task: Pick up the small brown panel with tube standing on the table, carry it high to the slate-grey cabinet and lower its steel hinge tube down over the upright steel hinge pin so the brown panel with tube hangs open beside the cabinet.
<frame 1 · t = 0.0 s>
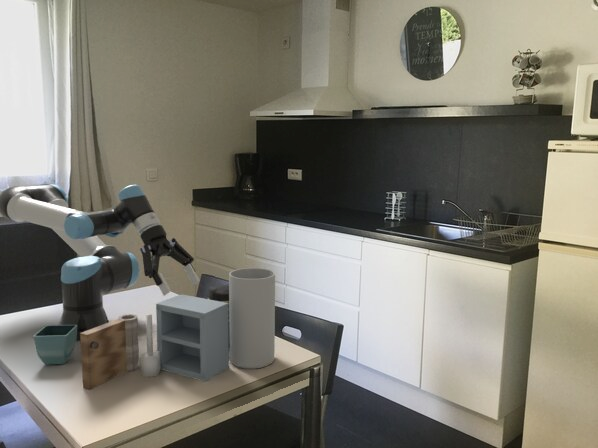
hand: (182, 288, 162), 15 cm above the table, tool tilted 35°, fingers open, 13 cm apart
brown panel with tube: (105, 379, 133), on the table
cylinder vase: (252, 361, 146), on the table
flower pot: (57, 361, 144), on the table
coffee jar: (224, 346, 157), on the table
cabinet: (193, 367, 141), on the table
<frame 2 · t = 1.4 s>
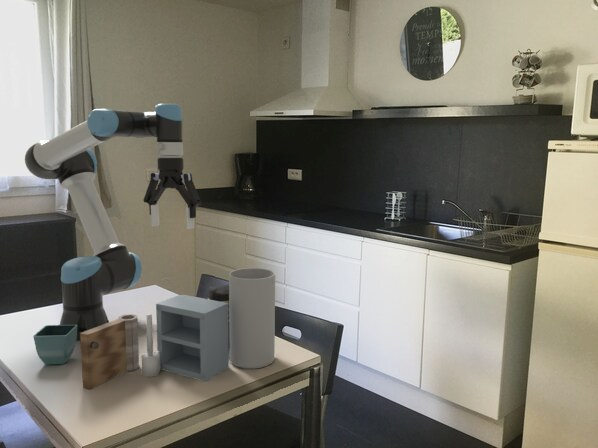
hand: (172, 227, 159), 34 cm above the table, tool pointing down, fingers open, 13 cm apart
nothing on the table moved.
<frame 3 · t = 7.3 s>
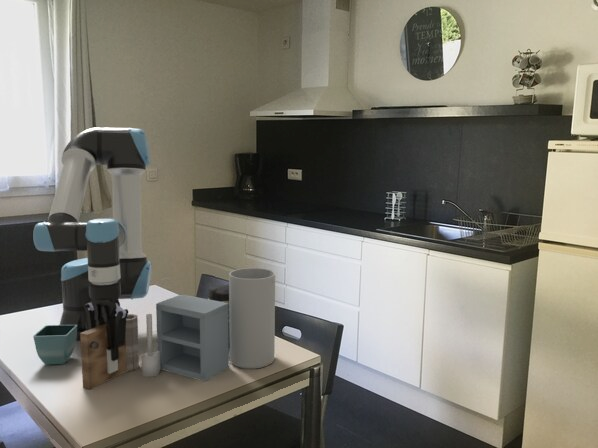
hand: (108, 370, 134), 2 cm above the table, tool pointing down, fingers closed on brown panel with tube, 2 cm apart
brown panel with tube: (105, 378, 133), on the table, touching gripper
everything else where it was.
when the fingers open (8 cm above the table, at t = 14.1 s): brown panel with tube drops 2 cm, resting on cabinet.
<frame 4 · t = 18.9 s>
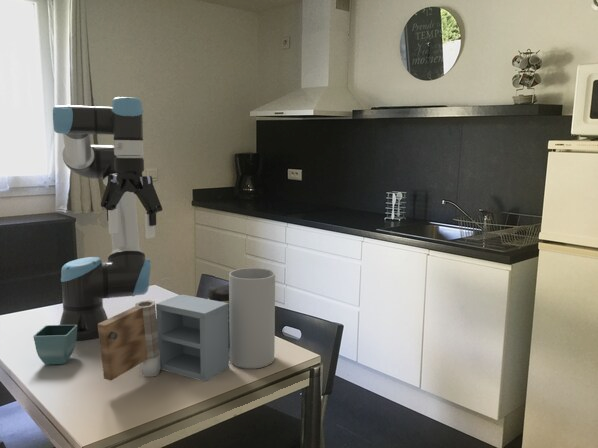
hand: (131, 235, 142), 35 cm above the table, tool pointing down, fingers open, 13 cm apart
brown panel with tube: (126, 368, 129), point 5 cm above the table, touching cabinet
everything else where it was.
at the end: brown panel with tube inside the target area (0.1 cm from its centre), point 4.5 cm above the table; brown panel with tube tilted 5°; brown panel with tube touching cabinet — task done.
